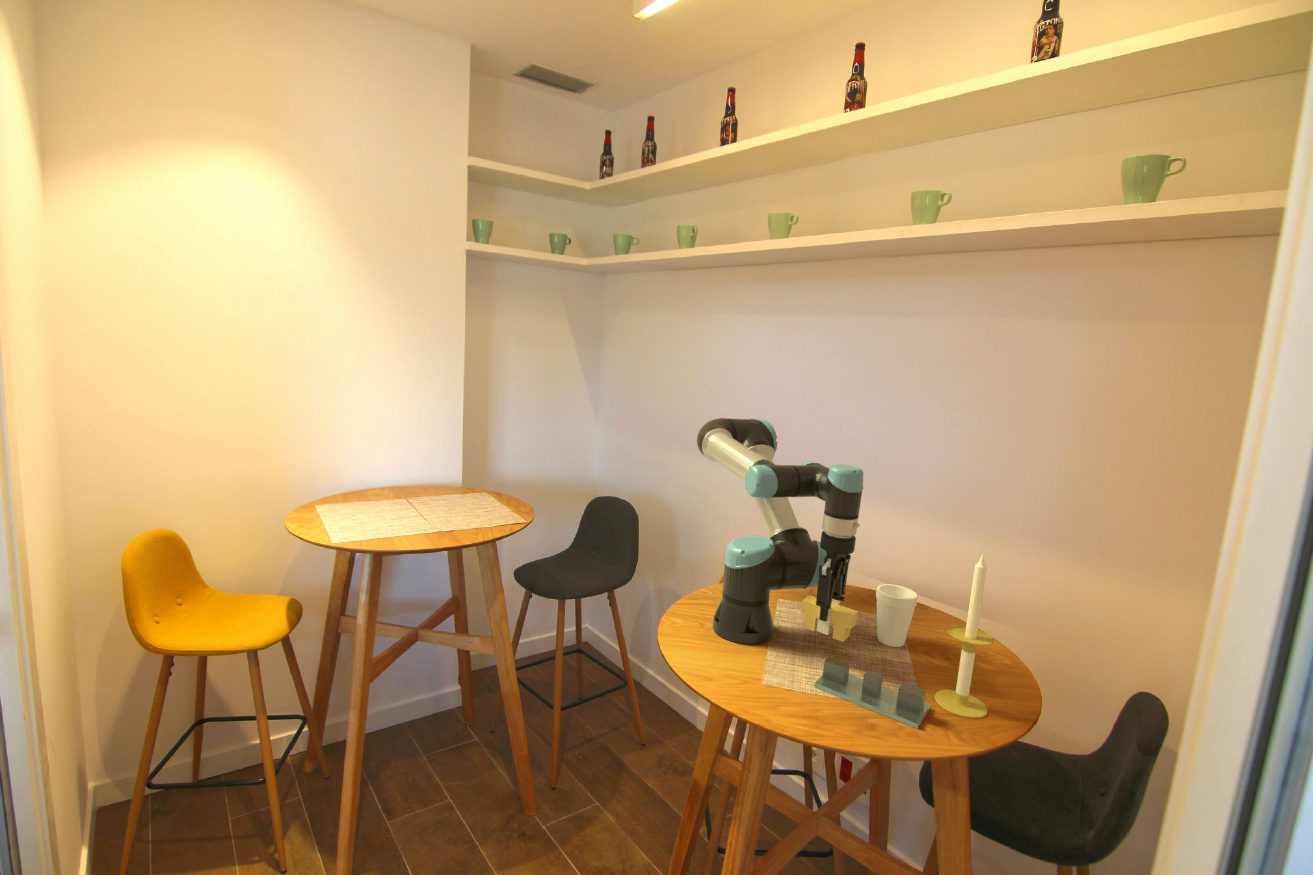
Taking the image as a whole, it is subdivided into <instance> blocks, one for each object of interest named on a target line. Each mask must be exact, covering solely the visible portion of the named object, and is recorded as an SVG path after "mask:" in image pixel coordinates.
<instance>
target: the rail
mask: <svg viewBox="0 0 1313 875" xmlns="http://www.w3.org/2000/svg"><path fill="white" fill-rule="evenodd" d="M850 666H851V663H850V662H848V661H845V660H843V659H841V658H837V657H834V656H832V655H829V656H828V657H827V658H826V659H824V662H823V668H822V670H823V671H822V675H821V676H820V677H819V678H818V679H817V680H815V682H814V684H813V686H814V688H815V689H818V690H820V691H824V692H826V693H828V694H830V695H833V696H835V697H838V698H840V699H842V700H845V701H848V702H850V703H853V704H855V705H857V706H860V707H862V708H865V709H868V710H870V711H873V712H875V713H878V714H880V715H882V716H885V717H887V718H889V719H892V720H894V721H897V722H900V723H902V724H904V725H907V726H909V727H912V728H915V729H919V727H920V725H921V724H922V722H923V721H924V719H925V717H926V716H927V714H928V713H929V710H930V709H931V703H928V702H926V696H927V690H924V689H922V688H919V687H917V686H914V685H911V684H908V683H905V682H902V683H901V684H900V686H899V687H898V689H897V690H898V691H897V690H893V689H891V688H889V687H885V686H884V685H883V679H884V675H883V674H882V673H879V672H875V671H873V670H870V669H868V670H867V671H866V672H865V673H864V675H863V678H861V677H859V676H856V675H854V674H851V673H850Z"/></svg>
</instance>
